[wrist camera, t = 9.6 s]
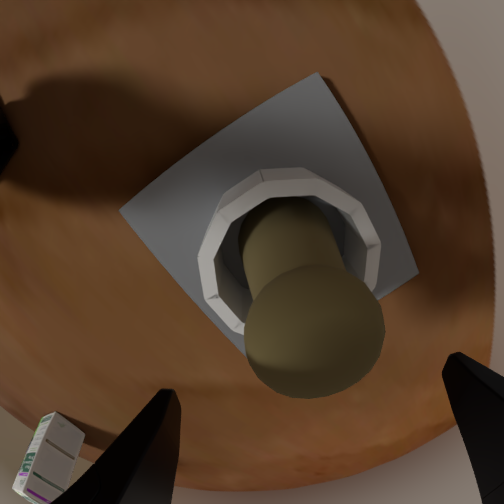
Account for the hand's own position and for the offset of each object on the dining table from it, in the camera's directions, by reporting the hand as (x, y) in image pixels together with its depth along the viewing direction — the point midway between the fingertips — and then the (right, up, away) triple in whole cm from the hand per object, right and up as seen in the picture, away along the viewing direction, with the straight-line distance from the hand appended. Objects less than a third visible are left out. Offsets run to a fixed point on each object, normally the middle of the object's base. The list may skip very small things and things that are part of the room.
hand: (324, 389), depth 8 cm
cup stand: (0, +5, +12) cm, 13 cm away
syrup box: (-29, -21, +23) cm, 43 cm away
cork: (0, +5, +11) cm, 12 cm away
